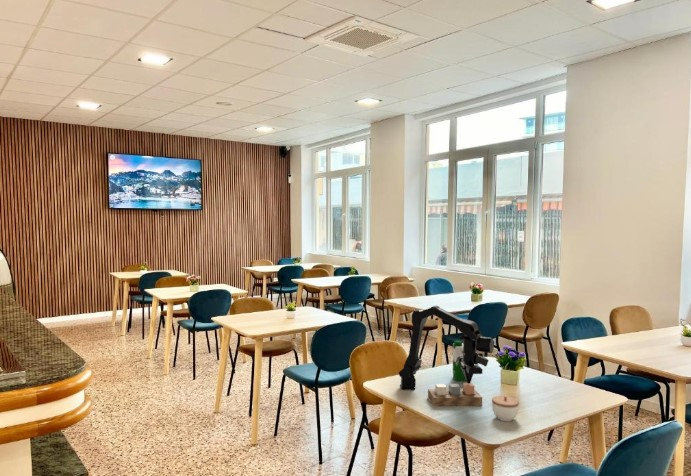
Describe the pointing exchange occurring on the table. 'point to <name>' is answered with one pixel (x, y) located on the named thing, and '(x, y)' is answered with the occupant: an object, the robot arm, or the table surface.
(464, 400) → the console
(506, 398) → the lidded jar
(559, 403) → the table surface
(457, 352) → the milk carton
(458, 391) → the grey cube
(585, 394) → the table surface
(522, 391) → the table surface
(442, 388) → the ivory key
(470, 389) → the orange cube
